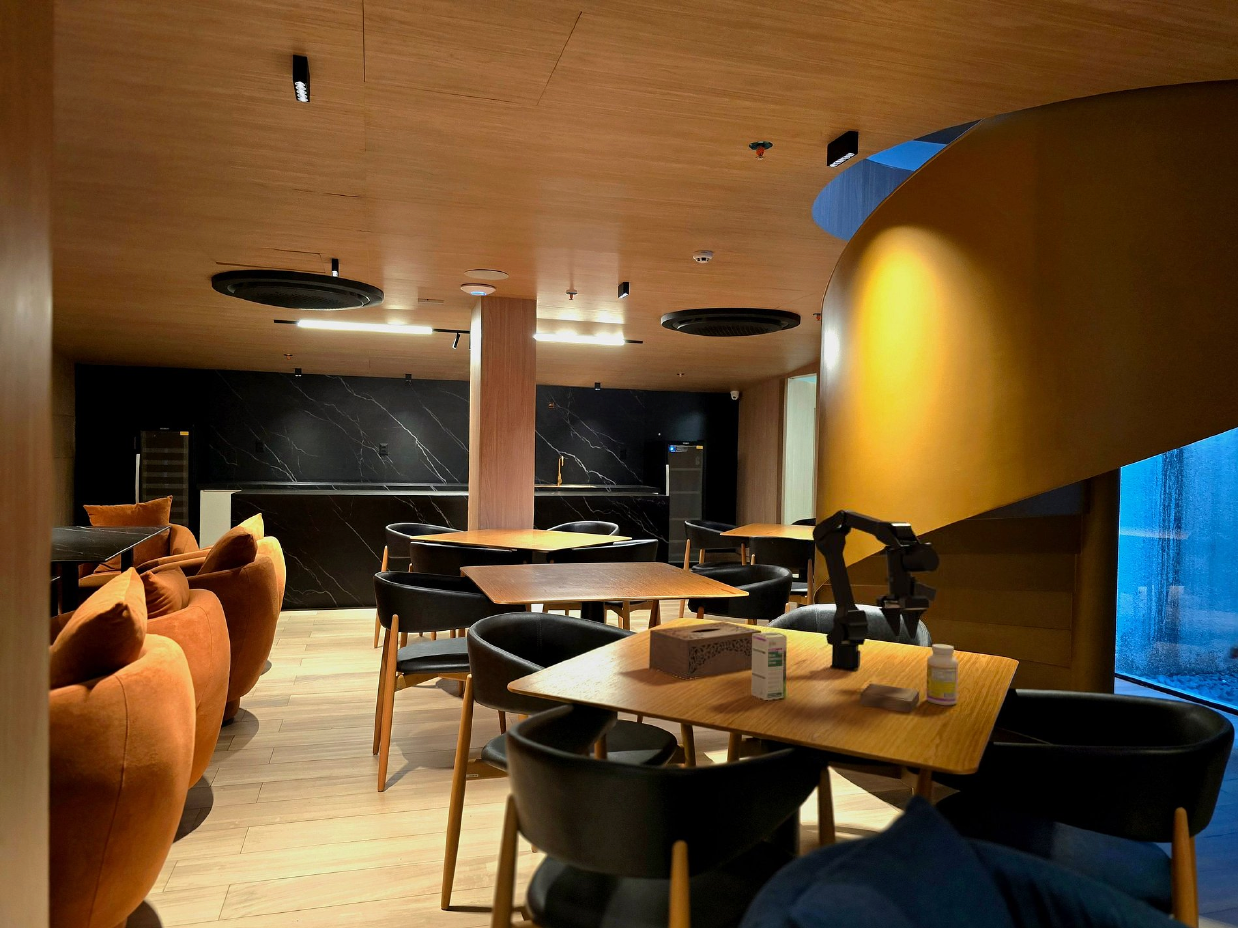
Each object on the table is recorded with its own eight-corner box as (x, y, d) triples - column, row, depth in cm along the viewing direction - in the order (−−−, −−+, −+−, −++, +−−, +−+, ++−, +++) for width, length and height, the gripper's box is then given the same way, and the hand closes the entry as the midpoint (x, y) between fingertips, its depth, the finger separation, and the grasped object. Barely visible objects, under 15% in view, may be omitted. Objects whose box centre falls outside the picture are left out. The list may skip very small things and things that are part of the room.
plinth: (859, 704, 190) (860, 692, 190) (870, 693, 199) (870, 682, 199) (910, 712, 185) (911, 700, 185) (919, 701, 194) (919, 689, 194)
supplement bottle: (932, 696, 199) (933, 641, 199) (961, 701, 195) (962, 646, 195) (921, 701, 194) (923, 645, 194) (951, 707, 190) (953, 650, 190)
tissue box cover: (685, 681, 207) (686, 640, 207) (649, 668, 219) (650, 630, 219) (759, 668, 223) (761, 630, 223) (722, 657, 234) (723, 621, 234)
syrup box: (765, 701, 190) (767, 636, 190) (750, 694, 195) (751, 631, 196) (786, 698, 193) (787, 635, 193) (770, 692, 198) (771, 630, 198)
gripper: (948, 571, 201) (954, 638, 199) (915, 572, 219) (920, 633, 217) (903, 572, 200) (908, 640, 198) (873, 573, 218) (877, 635, 216)
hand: (904, 637), depth 207 cm, fingers open, 9 cm apart
